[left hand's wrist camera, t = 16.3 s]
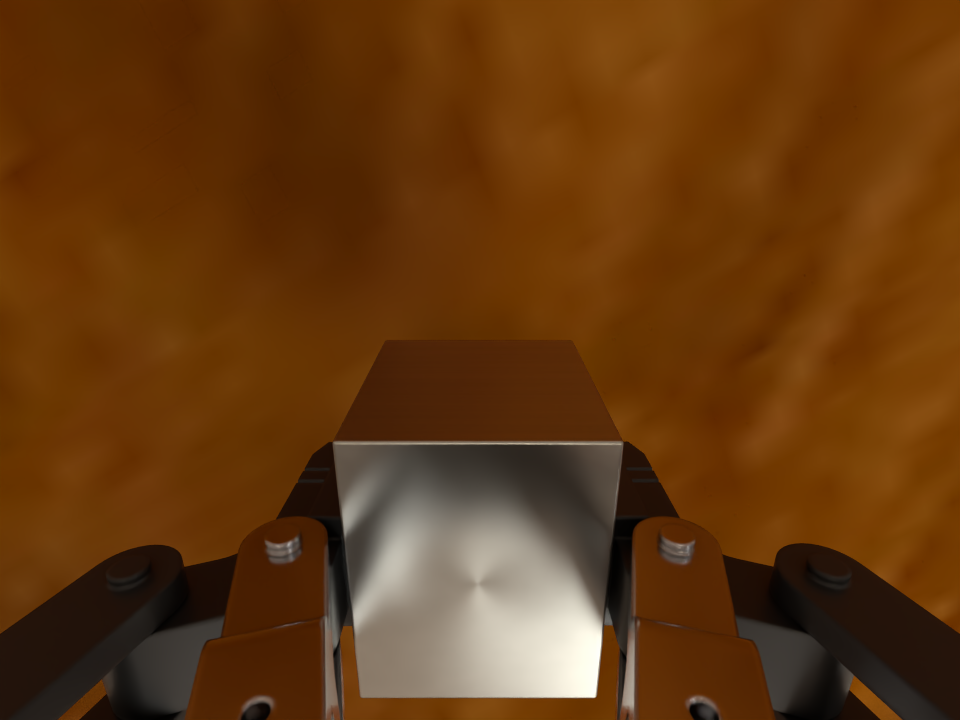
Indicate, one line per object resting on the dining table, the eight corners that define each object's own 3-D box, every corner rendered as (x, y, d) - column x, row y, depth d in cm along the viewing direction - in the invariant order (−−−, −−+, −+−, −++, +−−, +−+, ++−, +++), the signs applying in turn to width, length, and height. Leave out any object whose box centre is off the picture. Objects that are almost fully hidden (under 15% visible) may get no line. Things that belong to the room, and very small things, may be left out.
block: (397, 529, 13) (359, 699, 9) (385, 339, 12) (331, 441, 7) (560, 530, 13) (597, 699, 9) (573, 339, 12) (624, 441, 7)
